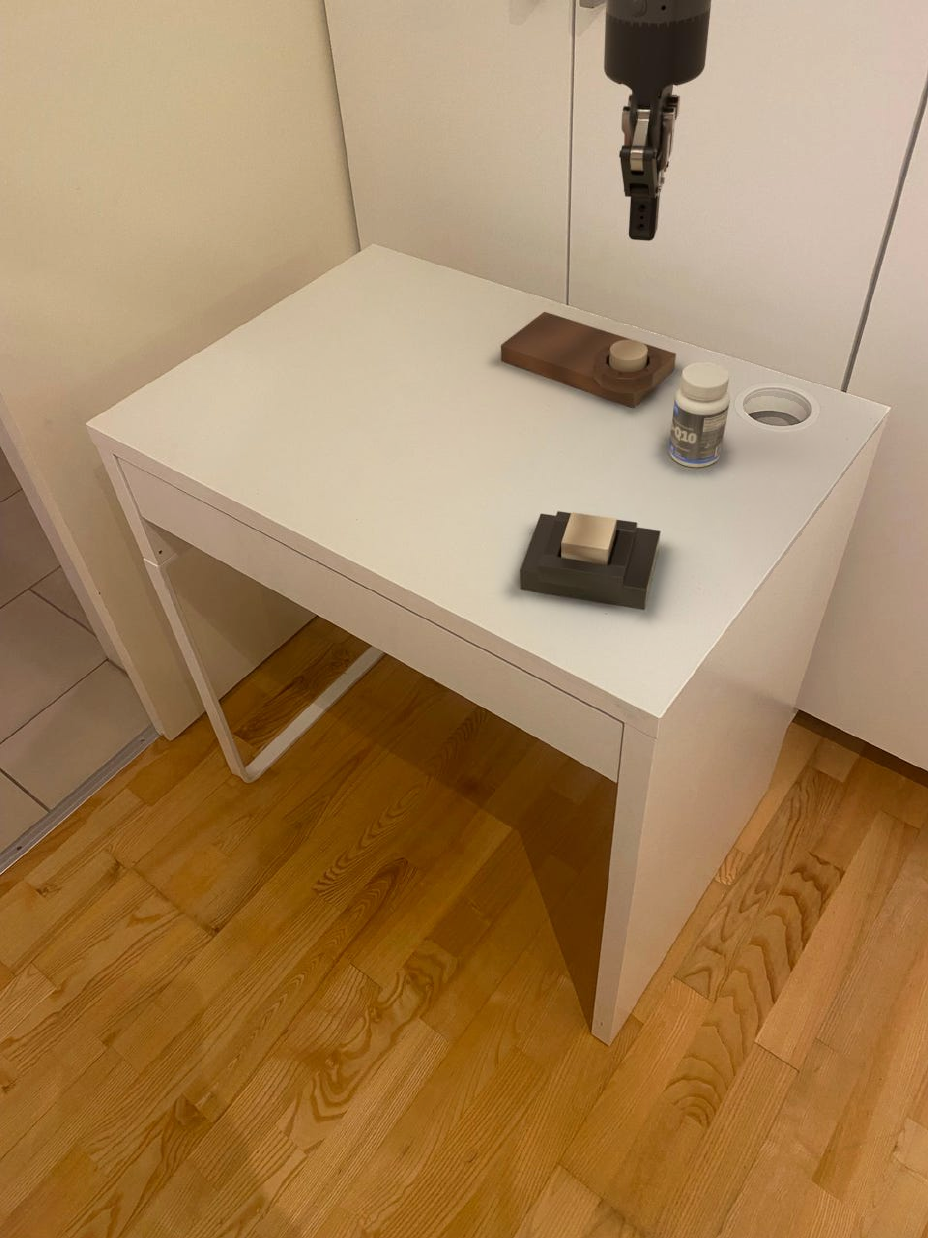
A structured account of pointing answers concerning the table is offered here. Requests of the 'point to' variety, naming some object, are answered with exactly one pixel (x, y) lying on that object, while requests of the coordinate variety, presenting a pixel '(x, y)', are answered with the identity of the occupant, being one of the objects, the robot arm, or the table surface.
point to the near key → (588, 538)
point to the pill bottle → (699, 415)
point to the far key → (628, 356)
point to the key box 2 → (591, 565)
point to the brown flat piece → (583, 359)
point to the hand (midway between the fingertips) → (642, 235)
